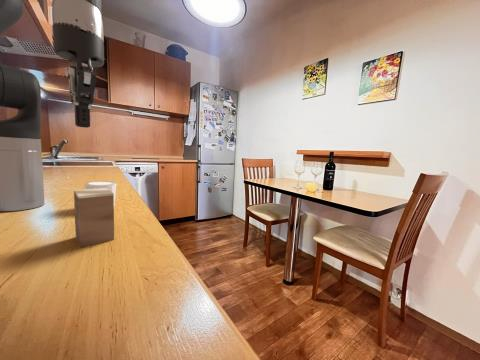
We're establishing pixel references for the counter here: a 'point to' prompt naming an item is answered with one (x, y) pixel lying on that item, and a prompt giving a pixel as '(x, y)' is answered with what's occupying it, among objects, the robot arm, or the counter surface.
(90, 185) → the shot glass
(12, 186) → the robot arm
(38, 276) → the counter surface
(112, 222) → the greyish brown block
